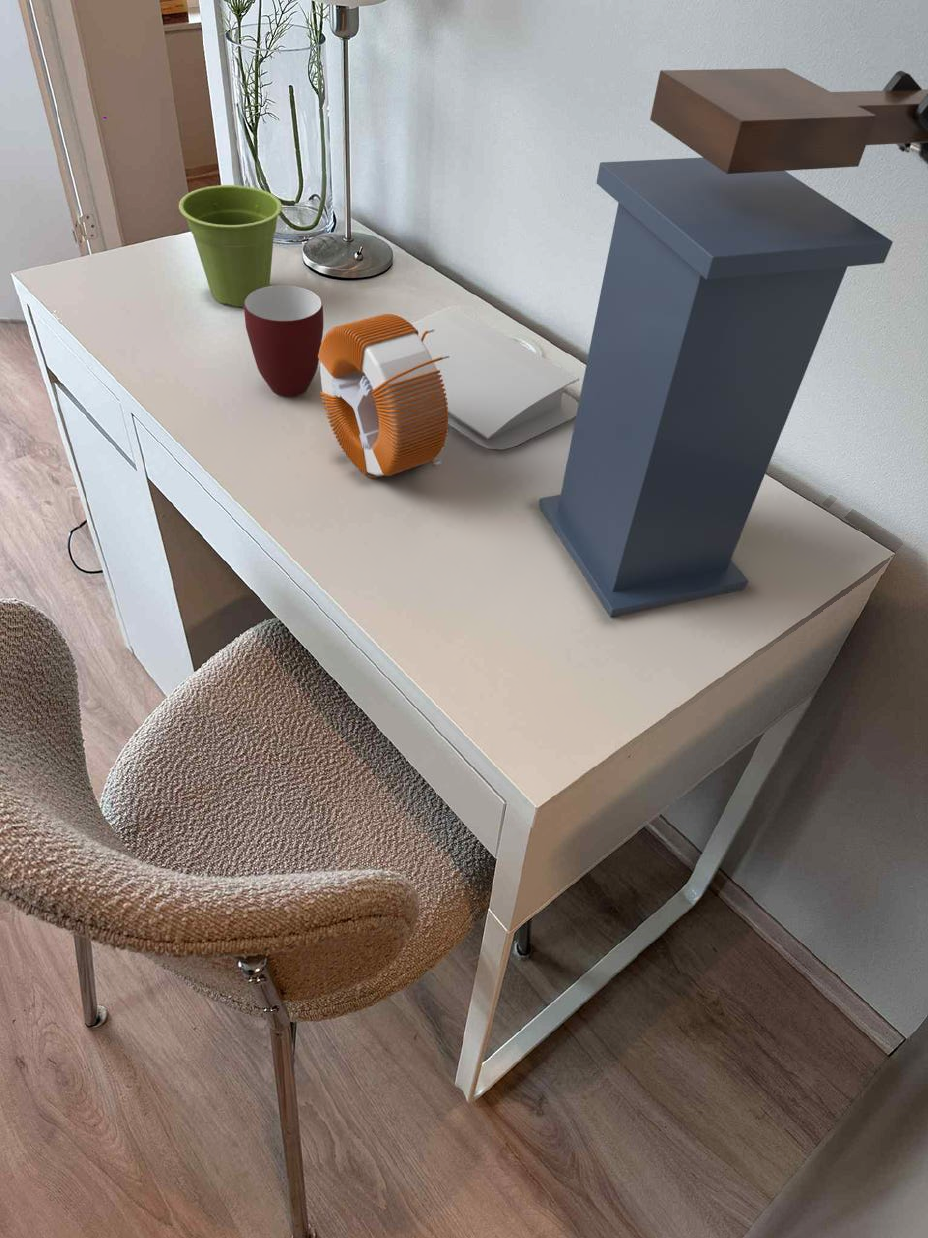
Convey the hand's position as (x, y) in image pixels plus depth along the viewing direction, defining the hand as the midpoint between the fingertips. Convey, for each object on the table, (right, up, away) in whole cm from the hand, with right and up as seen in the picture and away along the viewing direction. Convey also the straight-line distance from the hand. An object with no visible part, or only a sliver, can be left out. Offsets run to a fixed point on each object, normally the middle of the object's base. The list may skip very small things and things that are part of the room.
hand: (909, 93), depth 60 cm
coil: (-39, -20, +31) cm, 53 cm away
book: (-29, -9, +42) cm, 52 cm away
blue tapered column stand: (-14, -29, +24) cm, 40 cm away
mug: (-51, -9, +39) cm, 65 cm away
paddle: (-5, -3, +1) cm, 5 cm away
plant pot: (-59, +5, +52) cm, 79 cm away
